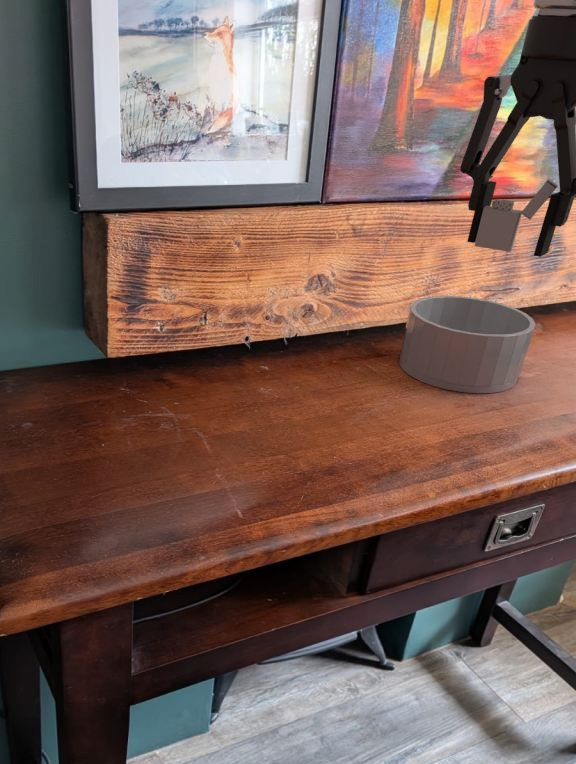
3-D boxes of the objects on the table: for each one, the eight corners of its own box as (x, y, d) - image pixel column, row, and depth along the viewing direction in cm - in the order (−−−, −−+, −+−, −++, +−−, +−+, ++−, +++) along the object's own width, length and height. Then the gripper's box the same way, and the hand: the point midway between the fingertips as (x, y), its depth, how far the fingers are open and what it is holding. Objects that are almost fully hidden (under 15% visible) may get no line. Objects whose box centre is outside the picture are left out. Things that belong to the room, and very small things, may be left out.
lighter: (473, 246, 89) (492, 173, 84) (476, 243, 90) (494, 171, 85) (536, 256, 86) (558, 181, 82) (538, 253, 87) (560, 179, 83)
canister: (535, 370, 107) (552, 316, 103) (490, 404, 97) (507, 346, 92) (430, 339, 116) (442, 288, 111) (378, 368, 105) (389, 312, 101)
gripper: (460, 9, 78) (414, 235, 91) (671, 17, 68) (585, 271, 80) (488, 11, 83) (440, 226, 96) (688, 20, 72) (605, 259, 85)
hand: (506, 246), depth 88 cm, fingers closed on lighter, 7 cm apart
